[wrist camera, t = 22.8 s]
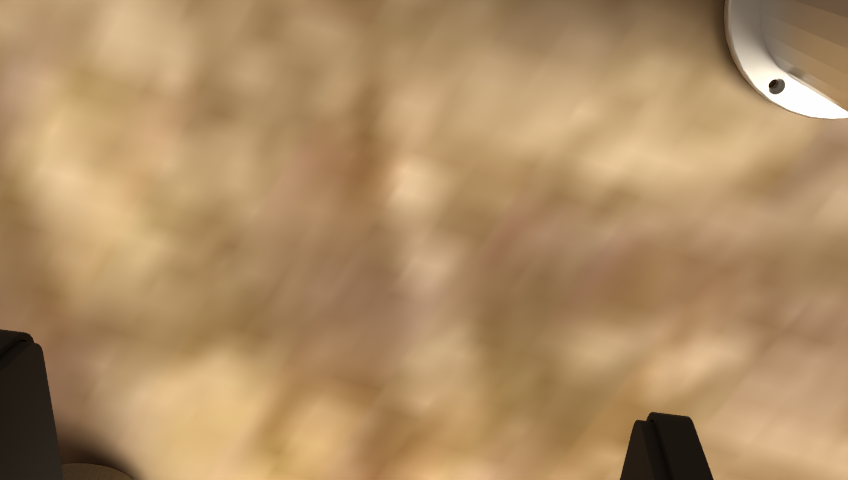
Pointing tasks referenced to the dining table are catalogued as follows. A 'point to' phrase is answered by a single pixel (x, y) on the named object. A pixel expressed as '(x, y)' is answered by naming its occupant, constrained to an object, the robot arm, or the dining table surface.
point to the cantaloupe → (91, 472)
